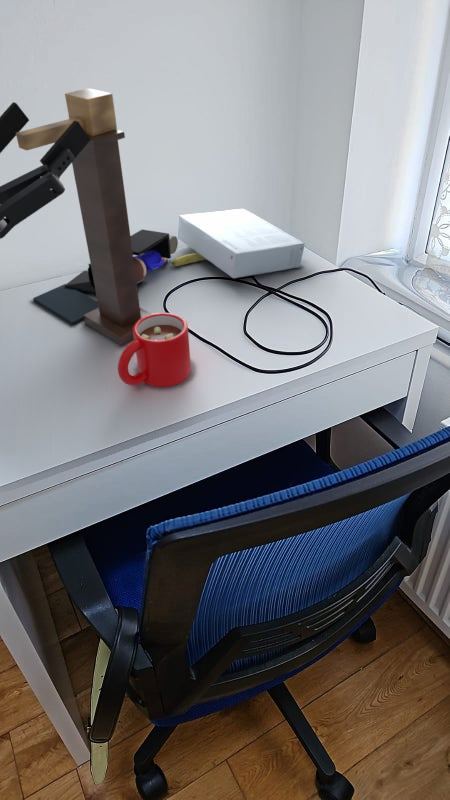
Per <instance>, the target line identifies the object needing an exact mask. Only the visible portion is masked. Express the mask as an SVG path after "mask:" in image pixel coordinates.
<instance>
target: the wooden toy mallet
mask: <svg viewBox="0 0 450 800" xmlns="http://www.w3.org/2000/svg"><path fill="white" fill-rule="evenodd" d="M64 99H65V103H66V108H67V113H68V119H63V120H60V121H57V122H53V123H48V124H45V125H44V124H43V125H41V126H37V127H33V128H30V129H25V130H20V131H19V132H17V133H16V136H15V137H16V141H17V144H18V148H19V149H22V150H25V151H30V150H33V149H34V150H35V149H38V148H41V147H44V146H48V145H53V144H54V143H55V142H56V141H57V140H58V139H59V138H60V136H61V135H62V134H63V133H64V132H65V131H66V130H67V128H68V127H69V126H70V125H71V124H72V123H73V121H74V120H75V121H78V122H79V124H80V125H81V126H82V128H83V129H84V131H85V132H86V134H88V135H91V136H96V135H99V134H103V133H106V132H110V131H113V130H118V126H117V119H116V117H117V116H116V110H115V102H114V95H113V93H111V92H106V91H104V90H99V89H94V88H89V87H88V88H84V89H83V88H82V89H79V90H75V91H69V92H67V93H64Z"/></svg>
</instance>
